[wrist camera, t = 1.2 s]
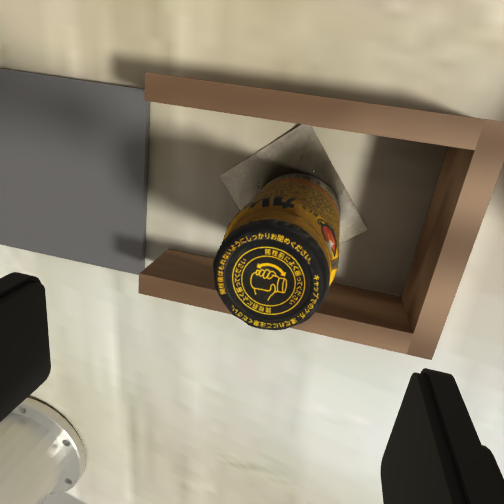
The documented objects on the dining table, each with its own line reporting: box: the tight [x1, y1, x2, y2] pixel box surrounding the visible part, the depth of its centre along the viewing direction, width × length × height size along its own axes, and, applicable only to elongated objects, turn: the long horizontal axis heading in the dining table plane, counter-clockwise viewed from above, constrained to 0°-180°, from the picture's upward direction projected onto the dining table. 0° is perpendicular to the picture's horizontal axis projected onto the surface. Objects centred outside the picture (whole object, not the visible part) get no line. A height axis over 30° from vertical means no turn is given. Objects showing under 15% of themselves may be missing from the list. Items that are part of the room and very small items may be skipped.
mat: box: [0, 68, 150, 275], centre depth 30 cm, size 14×14×1 cm
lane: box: [139, 72, 504, 360], centre depth 25 cm, size 14×20×5 cm
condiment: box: [213, 124, 367, 330], centre depth 22 cm, size 7×8×12 cm
